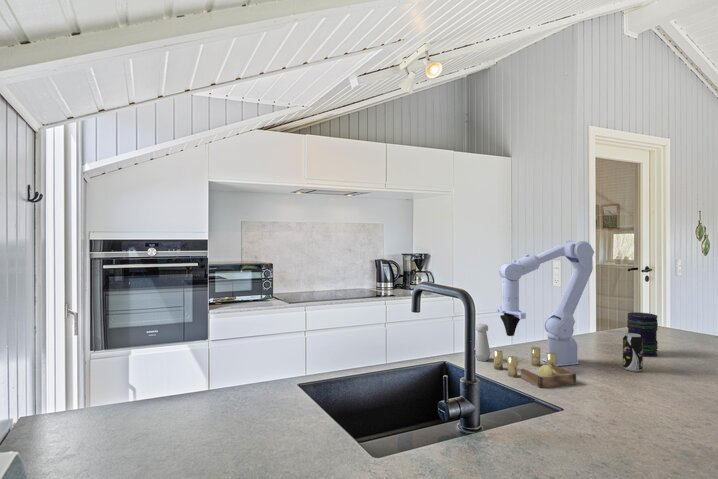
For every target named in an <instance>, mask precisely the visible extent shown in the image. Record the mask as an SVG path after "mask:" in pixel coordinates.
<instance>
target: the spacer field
mask: <svg viewBox="0 0 718 479" xmlns="http://www.w3.org/2000/svg"><path fill="white" fill-rule="evenodd" d="M530 348H531V349H530V351H531V352H530V353H531V354H530V358H531V359H530V363H531V364H530V365H531V366H534V367H541V347H539V346H531V347H530ZM546 358H547V362H546V365H548V366H550V367H551V369H552V370H553V366H557V354H556V353H548V352H546ZM493 369H494V370H497V371H502V370H504V350H501V349H494V350H493ZM507 376H508V377H509V378H518V357H517V356H515V355H508V356H507Z"/></svg>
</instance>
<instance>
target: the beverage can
mask: <svg viewBox="0 0 718 479" xmlns="http://www.w3.org/2000/svg"><path fill="white" fill-rule="evenodd" d="M643 363H644V357H643V340H642V338H641V335H639V334H634V333H628V332H626V333H624V336H623V338H622V368H623V369H625V370H627V371H630V372H634V373H635V372H641V371H642V370H643V368H644V367H643V366H644V365H643Z"/></svg>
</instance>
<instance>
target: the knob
mask: <svg viewBox="0 0 718 479" xmlns="http://www.w3.org/2000/svg"><path fill="white" fill-rule="evenodd" d="M537 375H538V376H540V377H541V376H550V375H557V374H556V372H555V371H554V370H552V369H551V367H550V366H548V365H547V364H543V365H540V366H539V369H538V373H537Z"/></svg>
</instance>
